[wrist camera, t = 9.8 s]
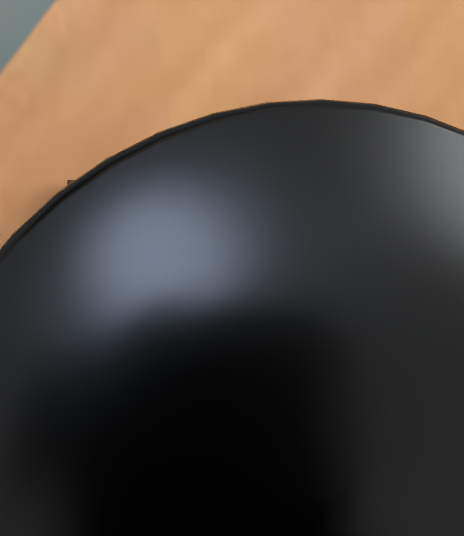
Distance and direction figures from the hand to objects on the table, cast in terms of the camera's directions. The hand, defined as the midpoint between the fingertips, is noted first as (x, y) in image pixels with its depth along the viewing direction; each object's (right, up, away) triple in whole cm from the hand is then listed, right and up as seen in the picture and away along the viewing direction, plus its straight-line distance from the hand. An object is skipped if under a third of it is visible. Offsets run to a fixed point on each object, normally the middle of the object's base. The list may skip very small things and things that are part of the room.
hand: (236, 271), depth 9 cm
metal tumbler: (-1, -1, +6) cm, 6 cm away
